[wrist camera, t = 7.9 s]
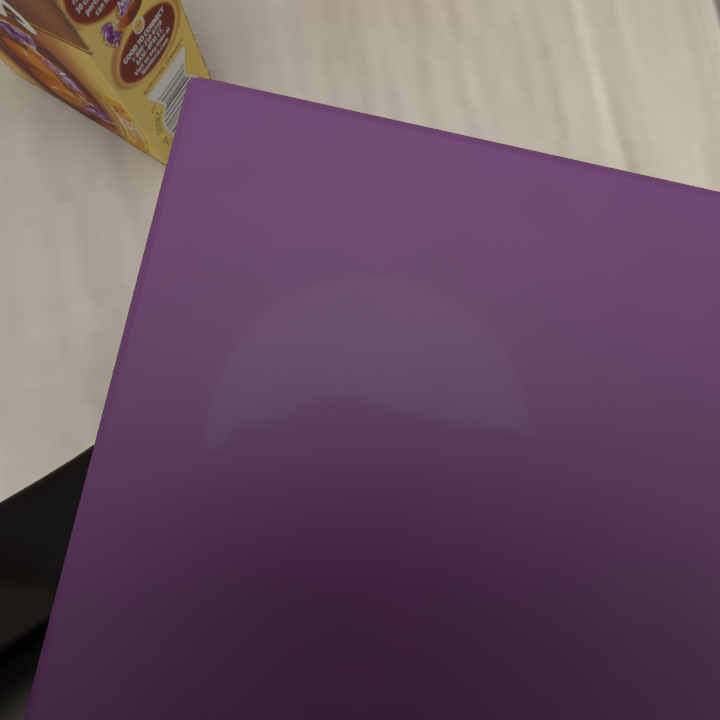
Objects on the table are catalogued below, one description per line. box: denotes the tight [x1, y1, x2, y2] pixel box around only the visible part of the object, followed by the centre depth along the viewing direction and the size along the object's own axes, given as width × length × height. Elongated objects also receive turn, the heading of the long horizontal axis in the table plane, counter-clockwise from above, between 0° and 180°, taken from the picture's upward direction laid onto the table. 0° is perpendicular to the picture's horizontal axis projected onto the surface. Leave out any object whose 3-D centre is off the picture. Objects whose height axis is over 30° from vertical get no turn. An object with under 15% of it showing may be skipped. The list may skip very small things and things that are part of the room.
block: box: [24, 77, 720, 720], centre depth 9 cm, size 5×5×13 cm
